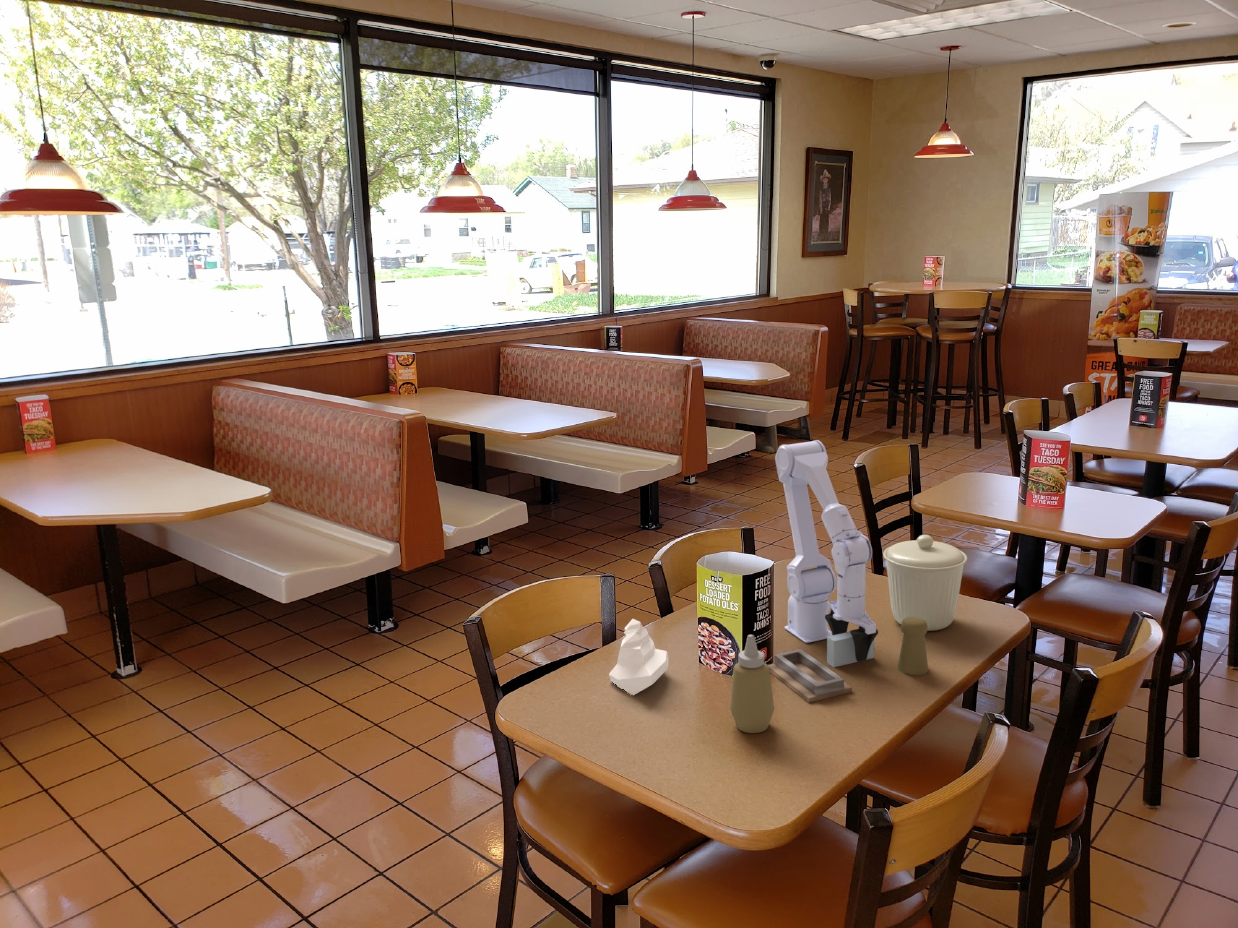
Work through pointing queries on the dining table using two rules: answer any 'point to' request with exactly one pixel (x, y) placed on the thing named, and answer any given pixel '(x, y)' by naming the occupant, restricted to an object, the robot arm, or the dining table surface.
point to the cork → (913, 647)
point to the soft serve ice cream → (638, 660)
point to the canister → (924, 580)
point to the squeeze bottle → (751, 690)
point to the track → (807, 676)
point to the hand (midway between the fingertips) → (850, 652)
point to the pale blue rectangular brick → (843, 650)
